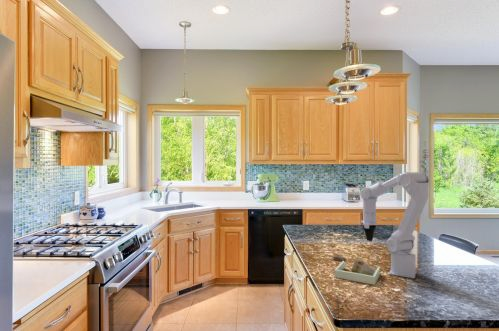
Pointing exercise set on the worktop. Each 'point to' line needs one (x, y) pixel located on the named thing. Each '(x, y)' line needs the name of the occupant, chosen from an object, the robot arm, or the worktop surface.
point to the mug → (362, 268)
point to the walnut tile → (338, 257)
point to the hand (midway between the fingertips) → (369, 240)
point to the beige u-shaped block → (356, 275)
